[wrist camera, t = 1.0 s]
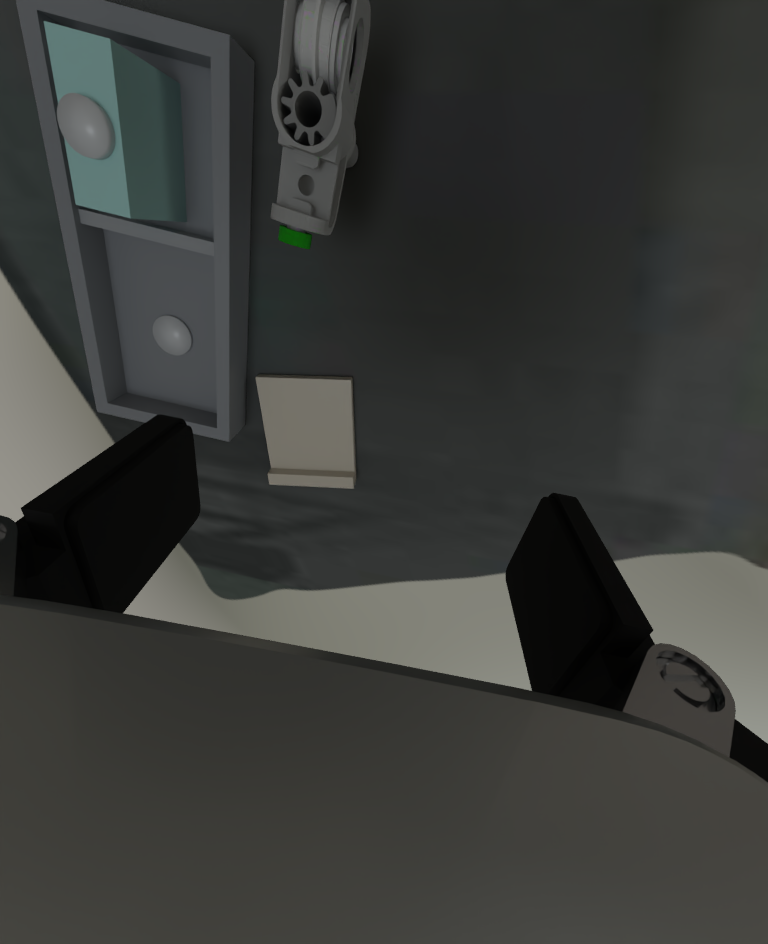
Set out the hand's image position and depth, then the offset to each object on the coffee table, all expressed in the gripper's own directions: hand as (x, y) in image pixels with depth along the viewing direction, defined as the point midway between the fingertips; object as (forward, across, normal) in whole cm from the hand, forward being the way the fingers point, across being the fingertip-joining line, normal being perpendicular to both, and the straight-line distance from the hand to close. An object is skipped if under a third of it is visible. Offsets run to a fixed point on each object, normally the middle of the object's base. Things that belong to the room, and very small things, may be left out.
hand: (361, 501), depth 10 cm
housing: (+23, +17, -1) cm, 29 cm away
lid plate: (+23, +6, +10) cm, 26 cm away
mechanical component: (+23, +6, -10) cm, 26 cm away
